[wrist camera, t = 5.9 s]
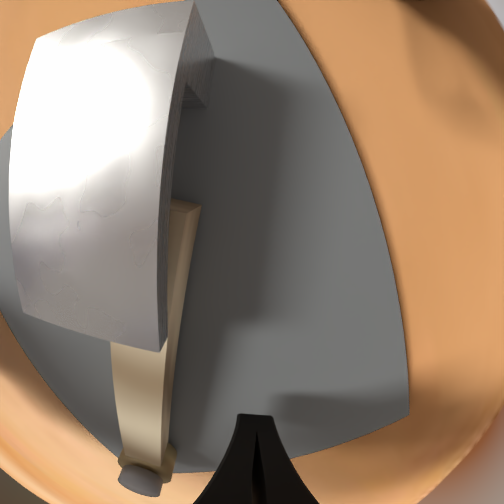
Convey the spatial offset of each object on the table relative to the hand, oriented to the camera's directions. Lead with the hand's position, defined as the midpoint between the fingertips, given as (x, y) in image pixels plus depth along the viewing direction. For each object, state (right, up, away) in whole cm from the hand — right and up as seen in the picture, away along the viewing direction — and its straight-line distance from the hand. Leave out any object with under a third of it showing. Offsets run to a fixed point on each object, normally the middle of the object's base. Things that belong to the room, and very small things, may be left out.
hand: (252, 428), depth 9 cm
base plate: (-4, +4, +1) cm, 6 cm away
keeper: (-4, +10, 0) cm, 11 cm away
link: (-4, +1, +1) cm, 5 cm away
